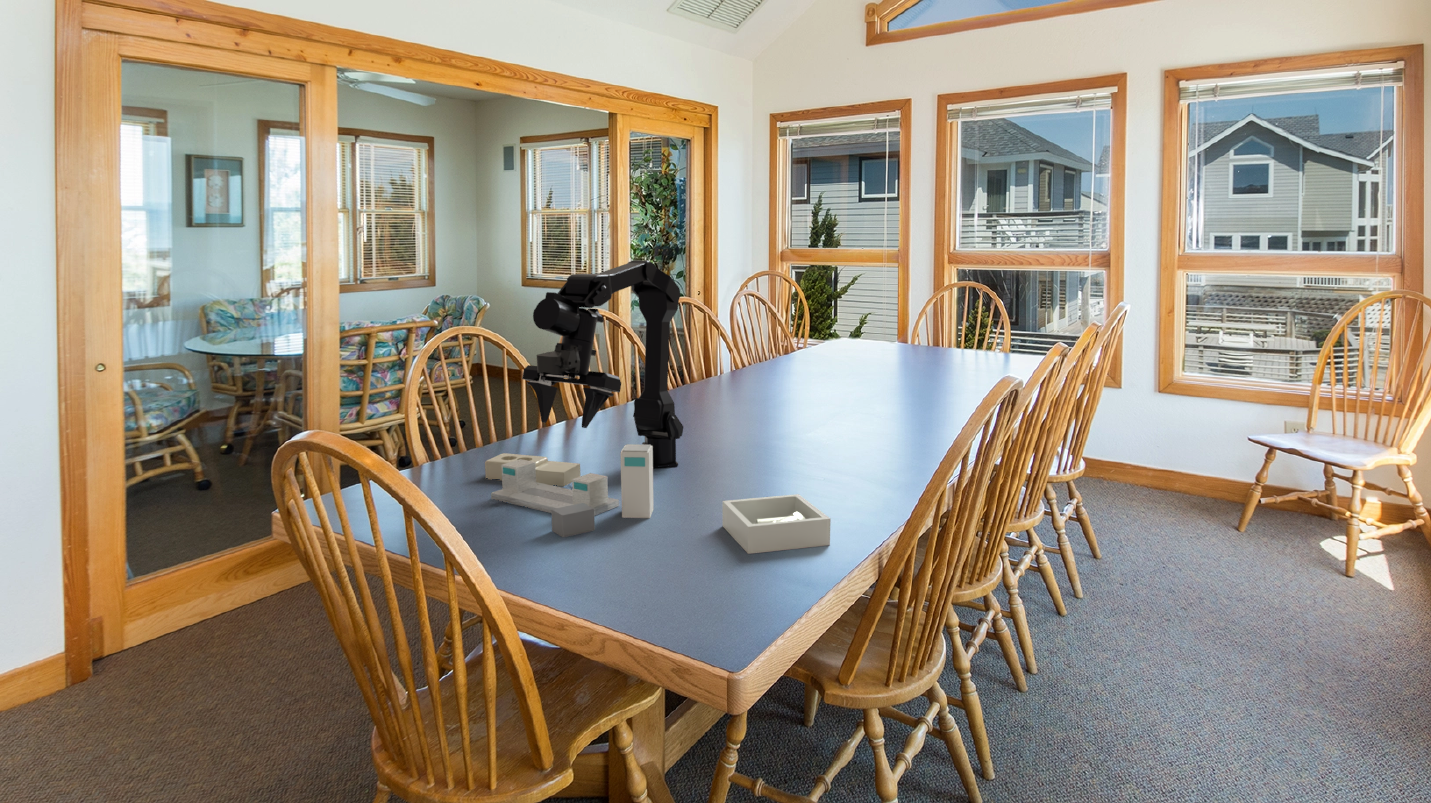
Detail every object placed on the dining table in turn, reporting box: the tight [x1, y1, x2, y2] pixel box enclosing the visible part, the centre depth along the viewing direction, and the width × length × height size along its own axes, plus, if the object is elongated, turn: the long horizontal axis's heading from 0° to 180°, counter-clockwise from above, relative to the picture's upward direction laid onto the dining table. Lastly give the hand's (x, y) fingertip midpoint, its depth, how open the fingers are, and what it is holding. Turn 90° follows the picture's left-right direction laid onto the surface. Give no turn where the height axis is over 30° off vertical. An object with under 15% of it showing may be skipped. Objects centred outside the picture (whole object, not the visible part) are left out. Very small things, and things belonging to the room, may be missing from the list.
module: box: [620, 443, 654, 519], centre depth 163 cm, size 5×5×12 cm
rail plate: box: [490, 459, 620, 517], centre depth 170 cm, size 10×23×6 cm, turn 56°
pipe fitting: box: [756, 512, 806, 524], centre depth 152 cm, size 8×4×7 cm
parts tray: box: [722, 493, 832, 555], centre depth 153 cm, size 14×14×4 cm
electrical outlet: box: [484, 452, 581, 487], centre depth 187 cm, size 7×4×18 cm
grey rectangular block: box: [551, 503, 596, 538], centre depth 155 cm, size 6×4×4 cm, turn 126°
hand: (563, 425), depth 167 cm, fingers open, 9 cm apart
